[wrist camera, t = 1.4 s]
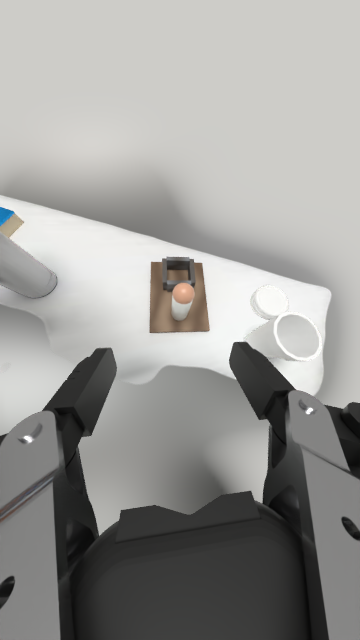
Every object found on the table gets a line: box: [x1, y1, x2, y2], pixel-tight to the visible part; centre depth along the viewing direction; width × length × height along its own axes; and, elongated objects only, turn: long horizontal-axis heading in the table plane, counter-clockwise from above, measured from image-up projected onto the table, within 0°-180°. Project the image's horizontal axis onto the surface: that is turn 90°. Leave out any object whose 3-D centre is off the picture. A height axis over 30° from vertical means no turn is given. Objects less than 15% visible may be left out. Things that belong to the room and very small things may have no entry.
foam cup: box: [245, 311, 322, 361], centre depth 31 cm, size 10×9×13 cm
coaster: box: [250, 285, 289, 319], centre depth 40 cm, size 10×10×4 cm
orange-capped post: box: [171, 283, 195, 321], centre depth 31 cm, size 4×4×13 cm
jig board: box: [150, 257, 210, 333], centre depth 38 cm, size 16×22×5 cm
